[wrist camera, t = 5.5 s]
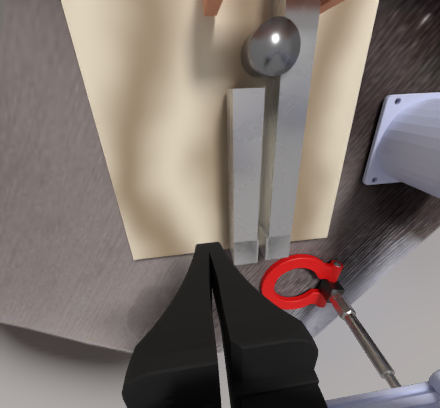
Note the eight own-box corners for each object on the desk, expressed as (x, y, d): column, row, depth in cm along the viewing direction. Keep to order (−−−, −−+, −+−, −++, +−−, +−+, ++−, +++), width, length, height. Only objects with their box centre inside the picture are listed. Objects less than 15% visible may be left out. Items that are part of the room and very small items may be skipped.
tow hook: (253, 301, 29) (319, 303, 31) (289, 436, 18) (392, 430, 19) (267, 249, 26) (342, 253, 27) (323, 377, 14) (449, 374, 15)
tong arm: (255, 87, 16) (267, 87, 14) (250, 244, 23) (257, 262, 20) (226, 88, 16) (232, 88, 14) (229, 247, 22) (234, 265, 20)
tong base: (304, -46, 14) (335, -81, 11) (277, 239, 23) (290, 260, 20) (240, -47, 13) (255, -84, 10) (240, 243, 23) (247, 265, 20)
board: (381, -59, 14) (393, -68, 14) (322, 231, 25) (326, 237, 24) (49, -65, 13) (39, -77, 12) (135, 253, 23) (133, 259, 22)
